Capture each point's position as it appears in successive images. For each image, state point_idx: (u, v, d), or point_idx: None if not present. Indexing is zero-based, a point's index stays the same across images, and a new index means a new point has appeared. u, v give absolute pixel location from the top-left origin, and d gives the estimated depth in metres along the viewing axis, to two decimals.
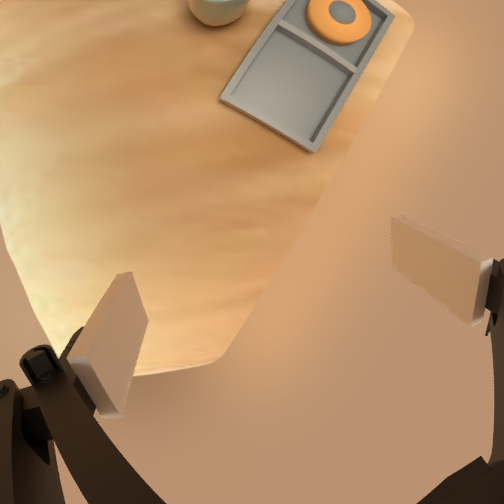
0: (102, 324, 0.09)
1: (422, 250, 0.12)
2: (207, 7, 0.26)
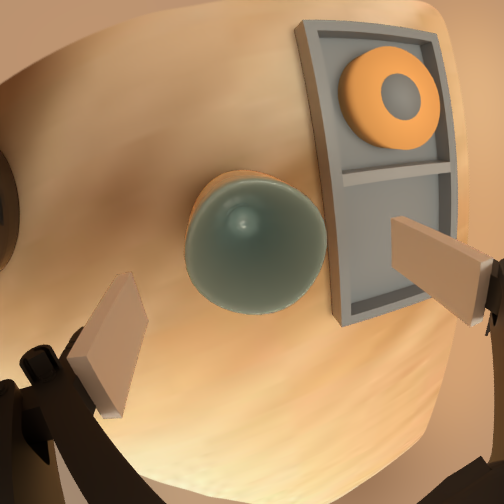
0: (102, 324, 0.09)
1: (422, 250, 0.12)
2: None
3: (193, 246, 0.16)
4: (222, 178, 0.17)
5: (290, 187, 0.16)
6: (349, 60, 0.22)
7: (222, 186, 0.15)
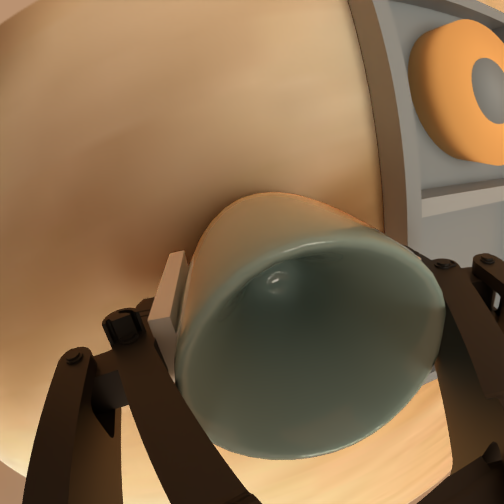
0: (174, 291, 0.11)
1: None
2: None
3: (192, 373, 0.07)
4: (250, 219, 0.08)
5: (405, 251, 0.07)
6: (419, 34, 0.13)
7: (259, 253, 0.06)
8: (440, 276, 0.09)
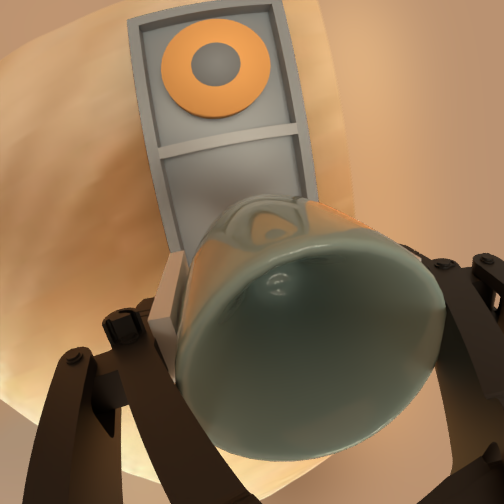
0: (175, 291, 0.11)
1: None
2: None
3: (193, 375, 0.07)
4: (251, 221, 0.08)
5: (406, 254, 0.07)
6: None
7: (259, 256, 0.06)
8: (440, 276, 0.09)
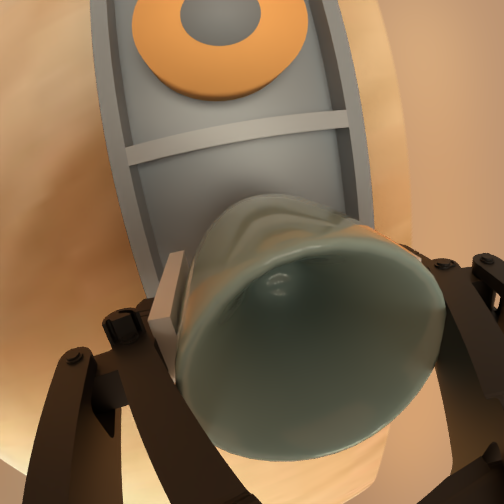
0: (174, 291, 0.11)
1: None
2: None
3: (193, 375, 0.07)
4: (251, 222, 0.08)
5: (406, 254, 0.07)
6: None
7: (259, 256, 0.06)
8: (440, 276, 0.09)
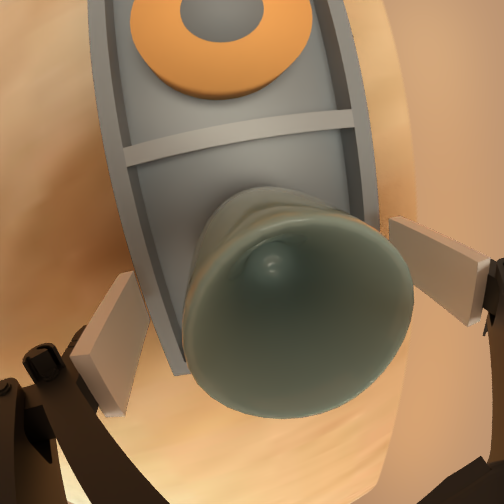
0: (105, 323, 0.09)
1: (420, 250, 0.12)
2: None
3: (197, 330, 0.09)
4: (246, 206, 0.10)
5: (370, 230, 0.08)
6: None
7: (250, 228, 0.08)
8: None
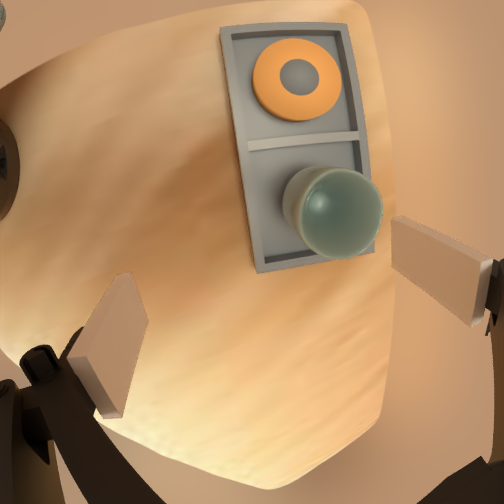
0: (102, 324, 0.09)
1: (422, 250, 0.12)
2: None
3: (303, 208, 0.24)
4: (318, 167, 0.26)
5: (363, 175, 0.24)
6: None
7: (324, 171, 0.24)
8: None
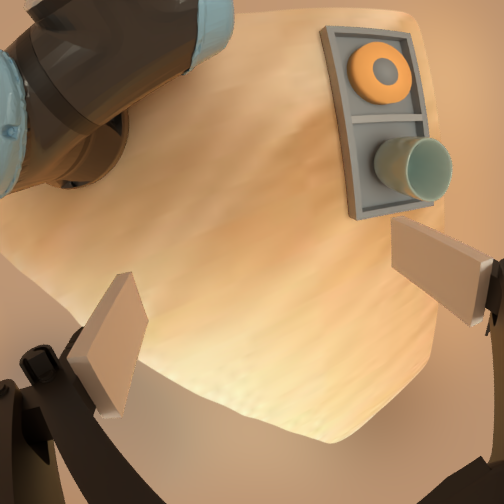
0: (102, 324, 0.09)
1: (422, 250, 0.12)
2: None
3: (408, 163, 0.31)
4: (410, 137, 0.32)
5: None
6: (353, 51, 0.35)
7: (420, 139, 0.30)
8: None
